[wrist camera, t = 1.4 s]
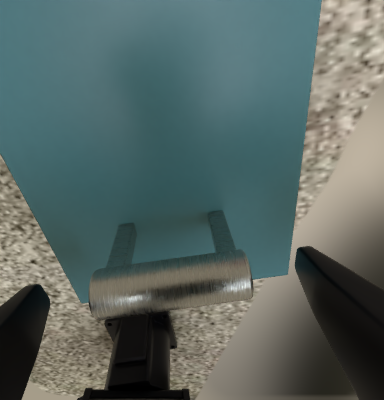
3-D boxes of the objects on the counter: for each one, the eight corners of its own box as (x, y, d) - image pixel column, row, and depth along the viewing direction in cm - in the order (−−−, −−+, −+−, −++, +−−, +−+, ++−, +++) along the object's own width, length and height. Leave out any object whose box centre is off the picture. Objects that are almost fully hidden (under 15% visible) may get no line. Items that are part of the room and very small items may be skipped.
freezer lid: (283, 265, 14) (331, 356, 10) (84, 293, 14) (47, 396, 10) (317, -54, 7) (521, -207, 3) (-68, -4, 7) (-408, -89, 3)
